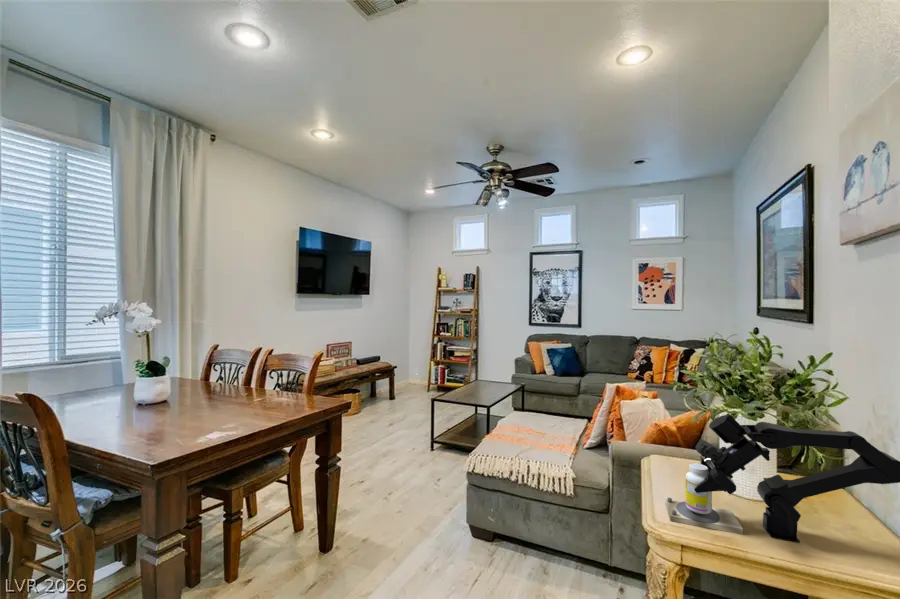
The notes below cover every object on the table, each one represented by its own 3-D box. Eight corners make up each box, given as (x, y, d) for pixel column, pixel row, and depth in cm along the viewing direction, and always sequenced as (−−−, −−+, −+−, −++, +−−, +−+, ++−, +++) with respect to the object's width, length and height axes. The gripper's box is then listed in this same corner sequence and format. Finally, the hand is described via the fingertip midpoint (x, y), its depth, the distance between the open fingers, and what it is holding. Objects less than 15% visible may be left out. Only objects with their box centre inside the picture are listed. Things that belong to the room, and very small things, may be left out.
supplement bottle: (695, 501, 123) (696, 460, 123) (717, 512, 117) (717, 469, 117) (680, 505, 121) (680, 463, 121) (701, 517, 114) (701, 472, 114)
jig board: (730, 514, 121) (731, 506, 121) (743, 535, 110) (743, 526, 110) (664, 503, 127) (664, 495, 127) (670, 521, 117) (670, 513, 117)
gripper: (708, 423, 125) (668, 452, 130) (722, 444, 108) (675, 476, 113) (738, 452, 123) (696, 480, 127) (757, 478, 105) (708, 510, 110)
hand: (693, 485), depth 119 cm, fingers closed on supplement bottle, 6 cm apart
